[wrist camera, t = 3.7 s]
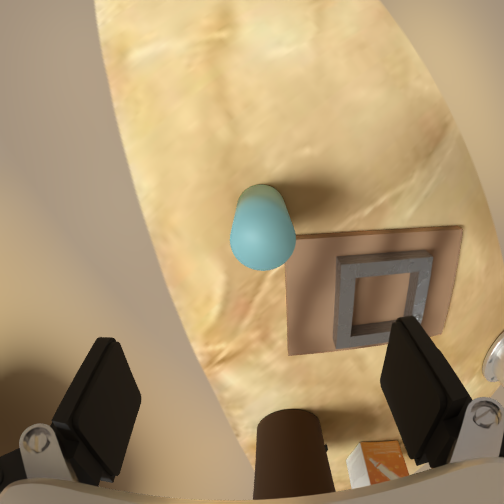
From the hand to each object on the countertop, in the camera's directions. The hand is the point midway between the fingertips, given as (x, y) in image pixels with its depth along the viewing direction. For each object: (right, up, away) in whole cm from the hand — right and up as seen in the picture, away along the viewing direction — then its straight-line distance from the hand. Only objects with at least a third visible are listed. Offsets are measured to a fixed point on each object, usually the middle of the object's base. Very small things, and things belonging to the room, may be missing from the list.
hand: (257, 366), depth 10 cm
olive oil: (+5, -22, +33) cm, 40 cm away
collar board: (+13, 0, +23) cm, 27 cm away
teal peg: (+1, +8, +20) cm, 22 cm away
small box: (+21, -31, +36) cm, 52 cm away
